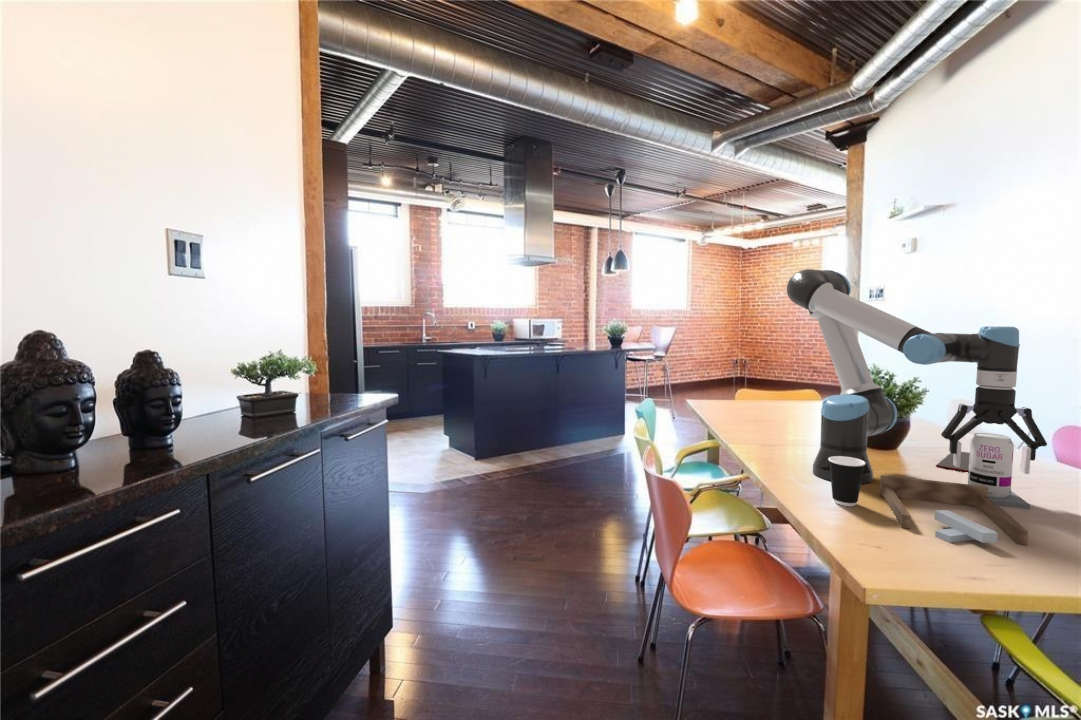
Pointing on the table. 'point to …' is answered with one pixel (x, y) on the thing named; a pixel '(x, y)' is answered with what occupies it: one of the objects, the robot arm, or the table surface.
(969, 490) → the rack
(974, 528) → the offcut upper
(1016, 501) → the pad
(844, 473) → the dixie cup
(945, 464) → the smartphone
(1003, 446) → the supplement can
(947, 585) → the table surface
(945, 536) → the offcut lower
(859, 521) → the table surface
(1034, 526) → the table surface
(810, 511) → the table surface
